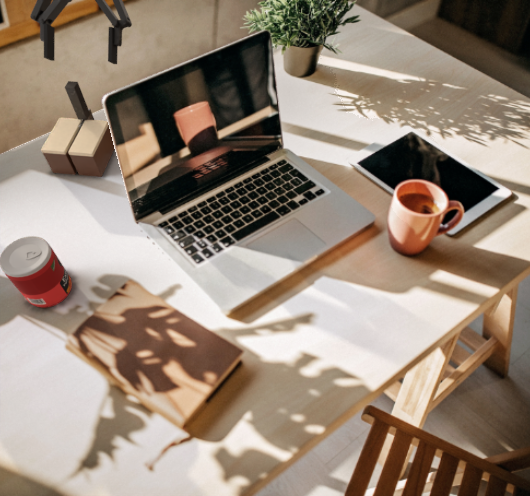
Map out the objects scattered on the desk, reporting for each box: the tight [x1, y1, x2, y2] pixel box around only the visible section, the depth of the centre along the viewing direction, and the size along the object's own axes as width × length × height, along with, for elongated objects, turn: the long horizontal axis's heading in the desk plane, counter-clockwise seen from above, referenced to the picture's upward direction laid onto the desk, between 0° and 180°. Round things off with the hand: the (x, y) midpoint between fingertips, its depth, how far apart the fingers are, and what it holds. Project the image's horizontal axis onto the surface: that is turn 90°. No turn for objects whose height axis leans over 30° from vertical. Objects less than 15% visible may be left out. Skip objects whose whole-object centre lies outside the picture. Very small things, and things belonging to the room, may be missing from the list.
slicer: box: [64, 80, 95, 129], centre depth 104 cm, size 6×2×14 cm, turn 172°
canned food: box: [0, 235, 73, 309], centre depth 83 cm, size 8×8×11 cm
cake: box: [40, 117, 115, 178], centre depth 104 cm, size 10×11×7 cm
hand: (80, 61), depth 100 cm, fingers open, 13 cm apart
